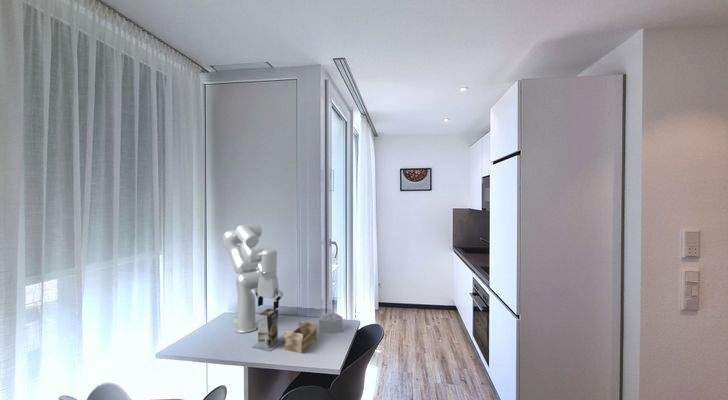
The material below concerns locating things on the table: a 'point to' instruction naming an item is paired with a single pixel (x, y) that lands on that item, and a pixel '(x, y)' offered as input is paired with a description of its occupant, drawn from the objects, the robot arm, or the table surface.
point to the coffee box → (267, 328)
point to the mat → (270, 346)
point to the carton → (301, 337)
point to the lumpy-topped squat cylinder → (330, 323)
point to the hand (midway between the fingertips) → (268, 307)
